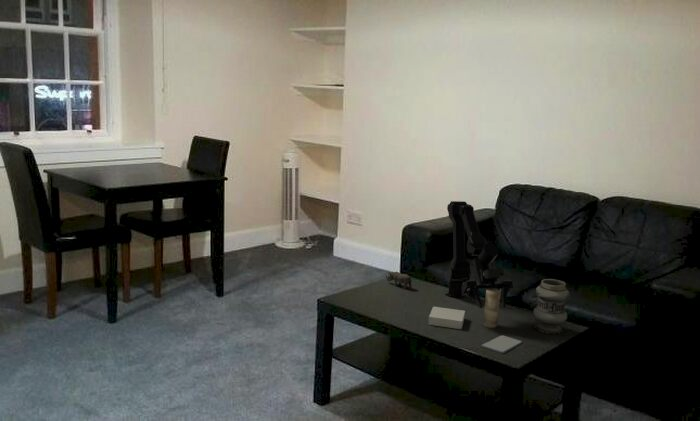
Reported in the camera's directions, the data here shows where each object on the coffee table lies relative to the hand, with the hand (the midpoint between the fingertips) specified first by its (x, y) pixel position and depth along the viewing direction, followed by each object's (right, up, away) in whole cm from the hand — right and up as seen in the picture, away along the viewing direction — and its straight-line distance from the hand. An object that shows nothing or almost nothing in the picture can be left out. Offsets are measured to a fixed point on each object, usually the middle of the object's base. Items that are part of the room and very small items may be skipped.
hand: (492, 307), depth 245 cm
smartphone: (0, -11, -16) cm, 19 cm away
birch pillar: (-1, -7, +2) cm, 7 cm away
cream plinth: (-16, -6, +3) cm, 18 cm away
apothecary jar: (+21, -8, +2) cm, 22 cm away
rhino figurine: (-32, +3, +44) cm, 54 cm away
